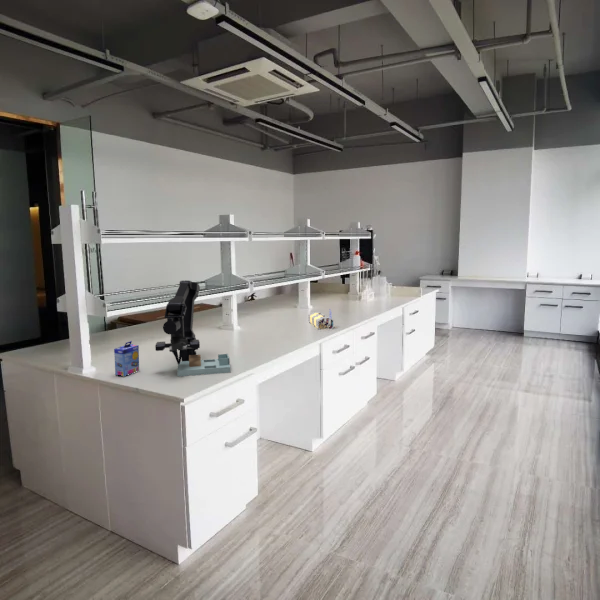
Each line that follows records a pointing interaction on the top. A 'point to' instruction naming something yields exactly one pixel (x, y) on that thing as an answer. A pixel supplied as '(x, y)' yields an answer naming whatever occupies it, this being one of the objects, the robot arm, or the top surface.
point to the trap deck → (206, 366)
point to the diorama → (320, 319)
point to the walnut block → (194, 360)
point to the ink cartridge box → (126, 359)
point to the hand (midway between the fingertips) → (178, 363)
